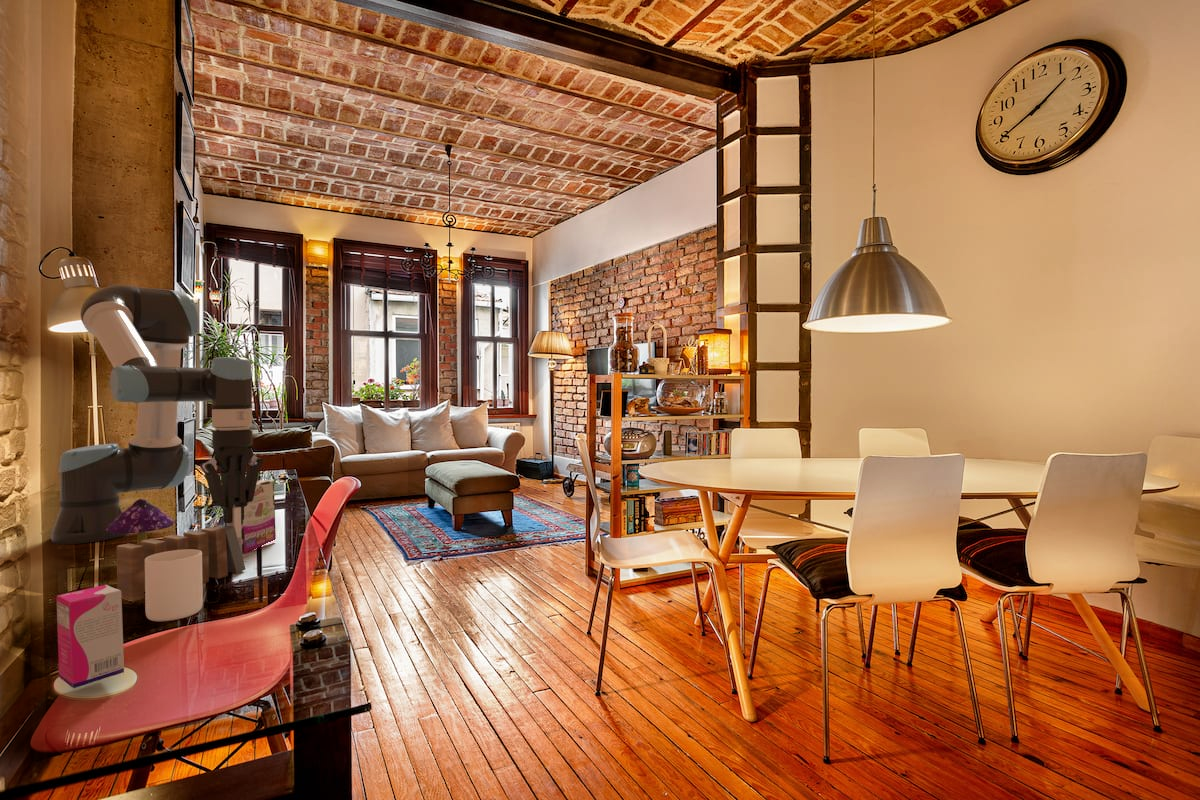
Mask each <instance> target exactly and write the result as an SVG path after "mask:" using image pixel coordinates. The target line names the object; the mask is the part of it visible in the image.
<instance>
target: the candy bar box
mask: <svg viewBox="0 0 1200 800" xmlns="http://www.w3.org/2000/svg"><path fill="white" fill-rule="evenodd" d="M275 502H276V501H275V480H269V479H268V480H267V479H263V480H262V479H260V480H257V484H256V488H255V493H254V498H253V501H252V502H248V505H247V506H245V507H244V520H243V521H241V537H239V538H238V542H239V546H240V550H241V553H242V555H245V554H247V553H251V552H253V551H252V550H254V549H256V548H258V547H260V546H262V545H264V544H266V543H268V542H271V541H273V540H275V539H276V538H277V537H276V511H275V510H276V509H275V508H276V507H275V504H276V503H275ZM234 506H235V505H234ZM225 524H226V526H227V523H225ZM250 551H251V552H250ZM254 551H255V550H254Z"/></svg>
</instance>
